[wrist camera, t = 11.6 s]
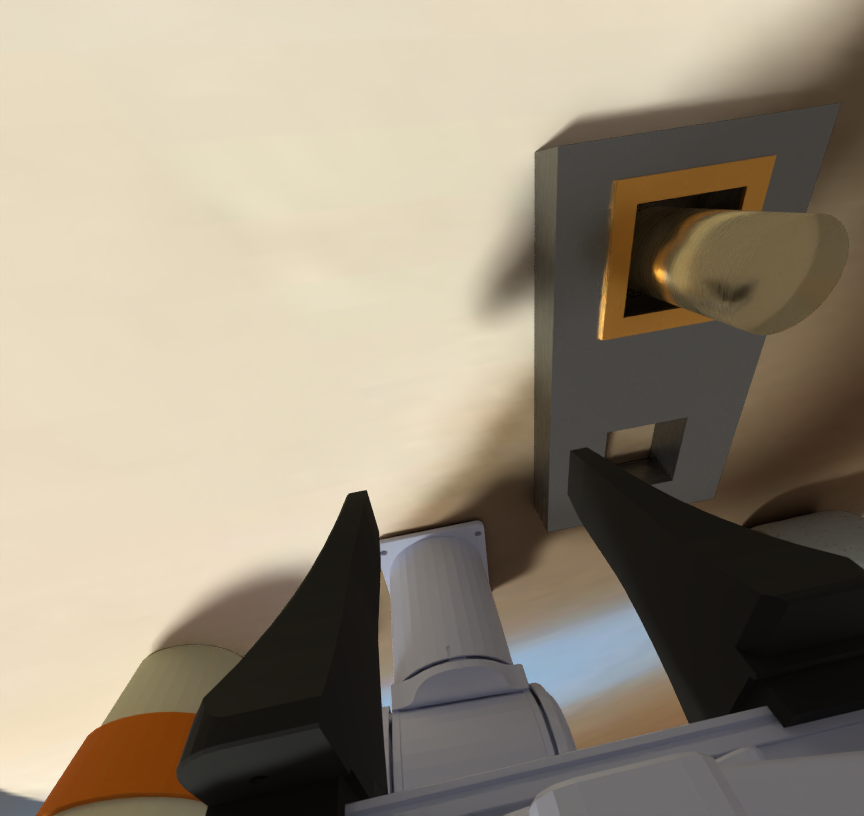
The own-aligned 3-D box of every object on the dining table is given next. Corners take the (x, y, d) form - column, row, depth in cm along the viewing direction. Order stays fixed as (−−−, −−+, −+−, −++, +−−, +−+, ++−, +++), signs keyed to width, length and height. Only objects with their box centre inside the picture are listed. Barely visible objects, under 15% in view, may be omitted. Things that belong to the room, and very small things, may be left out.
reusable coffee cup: (149, 721, 35) (19, 1027, 22) (82, 645, 29) (-153, 1009, 16) (288, 697, 36) (241, 975, 24) (252, 620, 30) (160, 939, 17)
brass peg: (674, 281, 21) (822, 324, 14) (605, 294, 21) (720, 344, 14) (689, 200, 19) (869, 204, 12) (613, 213, 19) (750, 224, 12)
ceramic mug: (735, 512, 32) (829, 597, 25) (828, 489, 32) (946, 568, 25) (709, 587, 37) (782, 673, 31) (789, 567, 37) (878, 649, 31)
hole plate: (688, 475, 29) (715, 500, 26) (534, 506, 28) (548, 534, 26) (784, 113, 18) (846, 101, 15) (534, 152, 17) (560, 145, 15)
